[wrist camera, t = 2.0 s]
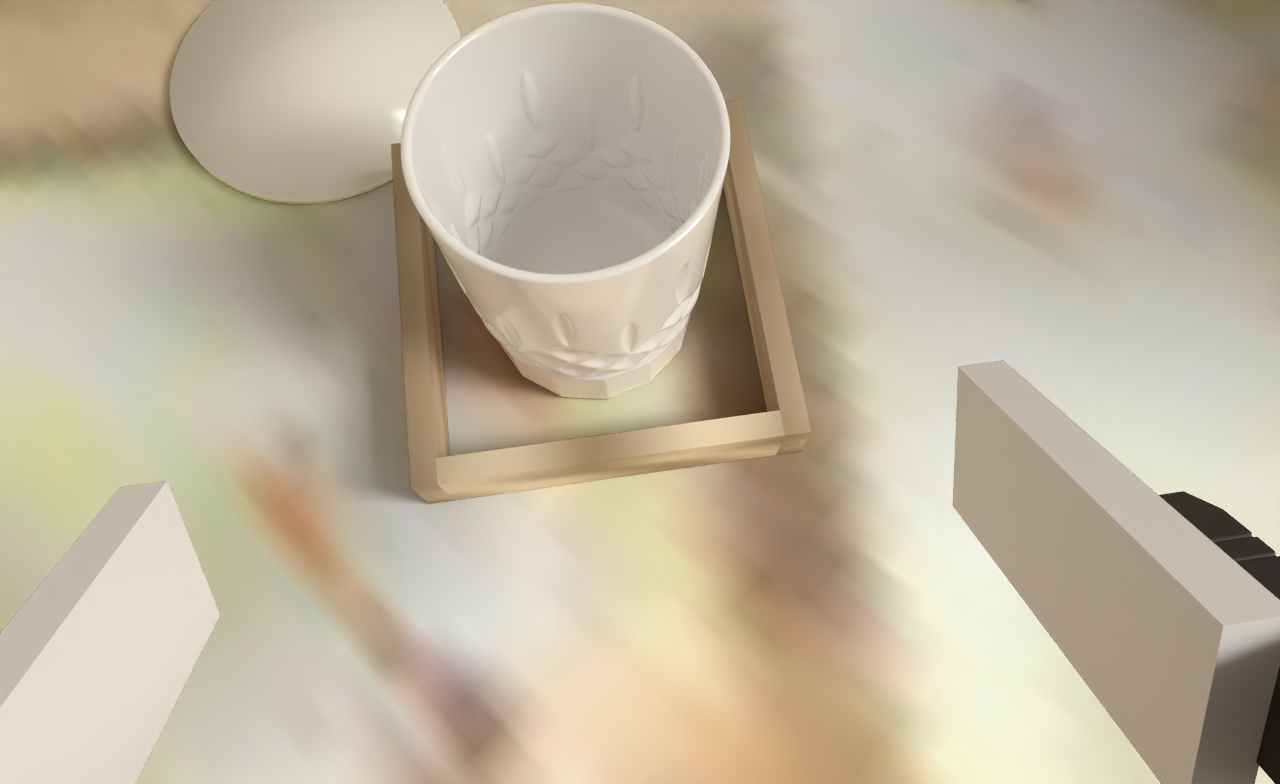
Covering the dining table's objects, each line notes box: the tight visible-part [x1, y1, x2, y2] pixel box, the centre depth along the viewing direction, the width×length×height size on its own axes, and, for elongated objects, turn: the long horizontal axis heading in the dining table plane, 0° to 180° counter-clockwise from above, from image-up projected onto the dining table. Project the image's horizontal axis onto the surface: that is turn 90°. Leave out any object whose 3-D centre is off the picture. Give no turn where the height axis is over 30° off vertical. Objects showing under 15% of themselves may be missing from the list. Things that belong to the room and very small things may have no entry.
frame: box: [391, 99, 811, 504], centre depth 30 cm, size 12×12×2 cm
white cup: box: [401, 2, 730, 399], centre depth 27 cm, size 8×8×10 cm
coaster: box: [170, 0, 462, 204], centre depth 34 cm, size 11×11×1 cm
